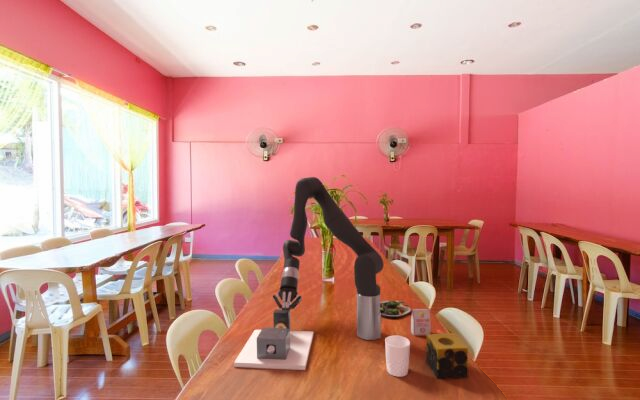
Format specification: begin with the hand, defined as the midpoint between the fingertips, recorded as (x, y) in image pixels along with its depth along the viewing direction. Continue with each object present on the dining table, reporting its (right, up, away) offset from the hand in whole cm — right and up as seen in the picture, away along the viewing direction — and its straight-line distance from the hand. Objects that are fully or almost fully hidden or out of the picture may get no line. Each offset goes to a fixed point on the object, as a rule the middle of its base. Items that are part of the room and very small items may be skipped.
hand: (284, 318), depth 133 cm
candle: (+56, -7, -27) cm, 62 cm away
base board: (-1, -7, -13) cm, 15 cm away
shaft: (-1, -5, -13) cm, 14 cm away
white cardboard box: (+55, -6, -2) cm, 55 cm away
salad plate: (+47, -5, +21) cm, 52 cm away
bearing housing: (-2, -6, -18) cm, 19 cm away
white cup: (+40, -8, -27) cm, 49 cm away
